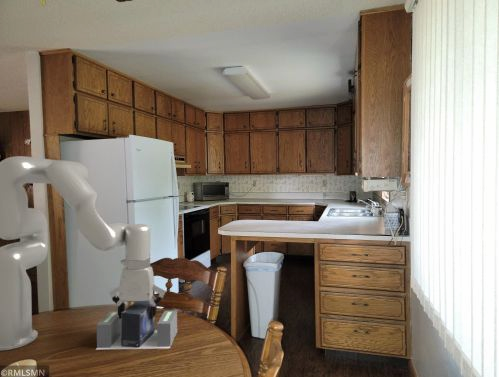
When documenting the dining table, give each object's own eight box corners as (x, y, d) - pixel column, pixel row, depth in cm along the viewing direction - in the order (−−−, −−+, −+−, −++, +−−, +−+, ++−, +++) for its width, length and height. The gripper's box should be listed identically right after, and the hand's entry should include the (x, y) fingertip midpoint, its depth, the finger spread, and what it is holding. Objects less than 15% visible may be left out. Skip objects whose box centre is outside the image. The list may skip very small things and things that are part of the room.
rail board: (95, 354, 96) (95, 349, 96) (111, 335, 108) (111, 331, 108) (169, 353, 97) (169, 348, 97) (177, 334, 109) (177, 329, 109)
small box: (140, 348, 97) (140, 313, 97) (120, 346, 98) (119, 312, 98) (156, 332, 107) (155, 300, 107) (137, 330, 108) (137, 299, 108)
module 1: (97, 347, 97) (96, 324, 97) (110, 332, 107) (110, 311, 107) (110, 347, 97) (110, 324, 97) (122, 332, 107) (122, 310, 107)
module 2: (157, 346, 98) (156, 323, 98) (165, 331, 108) (164, 310, 108) (170, 346, 98) (170, 323, 98) (177, 331, 108) (176, 310, 108)
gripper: (105, 266, 98) (104, 322, 98) (162, 266, 99) (161, 322, 99) (114, 260, 106) (114, 312, 106) (167, 260, 106) (167, 312, 106)
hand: (137, 317), depth 102 cm, fingers open, 9 cm apart
